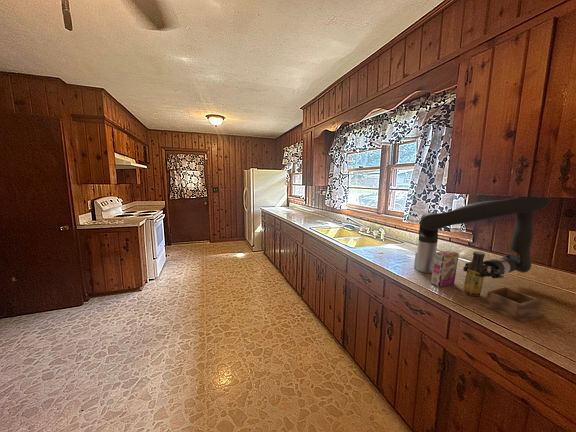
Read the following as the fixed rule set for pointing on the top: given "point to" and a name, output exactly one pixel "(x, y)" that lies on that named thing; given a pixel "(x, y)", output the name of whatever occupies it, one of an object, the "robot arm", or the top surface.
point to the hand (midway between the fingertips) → (472, 271)
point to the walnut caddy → (513, 304)
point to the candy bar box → (444, 268)
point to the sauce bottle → (474, 275)
